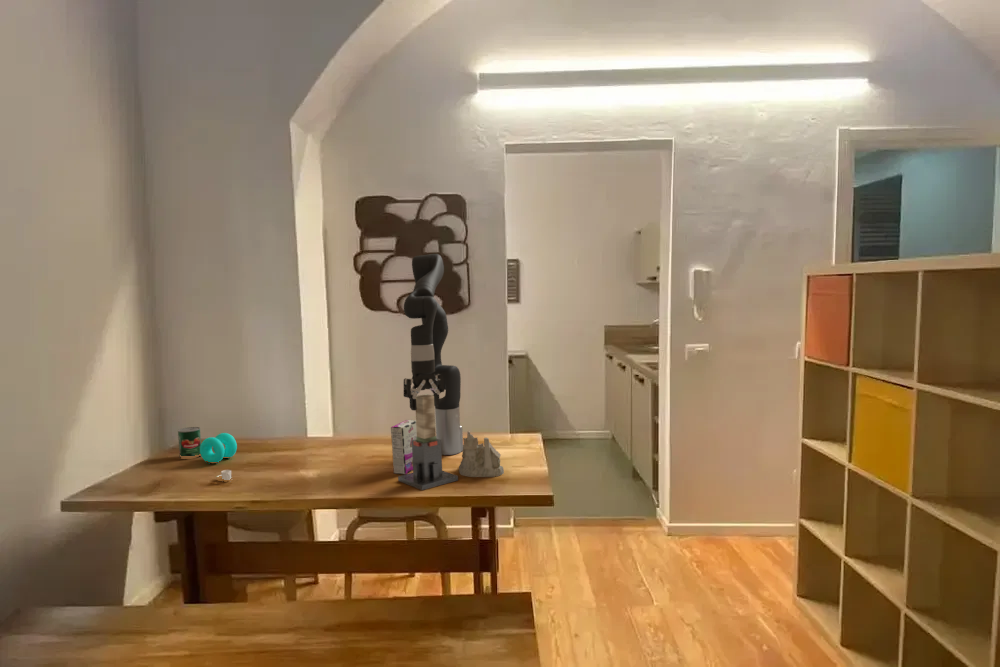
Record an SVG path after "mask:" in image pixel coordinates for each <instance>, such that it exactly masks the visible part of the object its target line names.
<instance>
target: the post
mask: <svg viewBox="0 0 1000 667" xmlns="http://www.w3.org/2000/svg"><path fill="white" fill-rule="evenodd" d="M433 395H434V394H427V393H425V394H420V395H419V394H417V396H416V398H415V399H416V404H417V410H415V420H416V431H417V437H416V440H417V441H420V442H423V443H426V442H430V441H435V440H436V419H435V406H434V396H433Z"/></svg>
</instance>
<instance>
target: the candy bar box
mask: <svg viewBox="0 0 1000 667" xmlns="http://www.w3.org/2000/svg"><path fill="white" fill-rule="evenodd" d="M390 434H391V446H392V448H391V449H392V451H391V453H392V467H393V474H396V475H406V474H410V472H413V456H412V440H415V439H416V437H417V431H416V419H414V420H413V419H411V420H410V419H405V420H404V421H402V422H399V423H397V424H395V425H393V426H391V427H390Z"/></svg>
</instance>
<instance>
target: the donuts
mask: <svg viewBox="0 0 1000 667" xmlns="http://www.w3.org/2000/svg"><path fill="white" fill-rule="evenodd" d="M237 449H238V444H237V441H236V439H235V437H234V436H233V435H232V434H230V433H228V432H221V433H219V434H217V435H216V436H215V437H214V436H209V437H207V438H205V439H204V440H202V441H201V446H200V454H201V458H202V460H204V462H206V461H208V462H218V463H220V462H221V461H222V460H223V457H231V458H232V457H233V456H235V454H236V453H237V451H238V450H237ZM219 461H220V462H219Z"/></svg>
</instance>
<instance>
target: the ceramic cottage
mask: <svg viewBox="0 0 1000 667" xmlns="http://www.w3.org/2000/svg"><path fill="white" fill-rule="evenodd" d="M466 434H467V437H463V451H462V454H461V457H462V459H461V461H460V464H459V465H458V468H459V469H458V472H459V474H460V475H461V476H465V477H469V478H477V477H478V478H495V476H496V477H501V476H503V475H504V474H505V473H504V472H505V471H504V466H502V465H501V455H502V454H500V452H499V451H498V450H496V448H495V447H493V445H492V444H491V441H490V440H489V437H484V438H483V443H479V439H478V437H476V436H475V437H474V435H473V434H471V431H469V430H468V431H467V433H466ZM502 474H503V475H502ZM500 475H501V476H500Z"/></svg>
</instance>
